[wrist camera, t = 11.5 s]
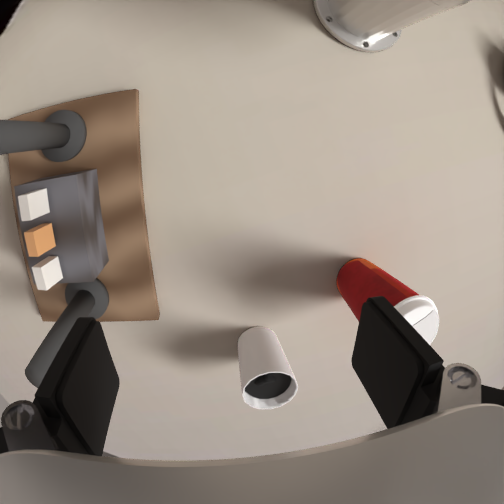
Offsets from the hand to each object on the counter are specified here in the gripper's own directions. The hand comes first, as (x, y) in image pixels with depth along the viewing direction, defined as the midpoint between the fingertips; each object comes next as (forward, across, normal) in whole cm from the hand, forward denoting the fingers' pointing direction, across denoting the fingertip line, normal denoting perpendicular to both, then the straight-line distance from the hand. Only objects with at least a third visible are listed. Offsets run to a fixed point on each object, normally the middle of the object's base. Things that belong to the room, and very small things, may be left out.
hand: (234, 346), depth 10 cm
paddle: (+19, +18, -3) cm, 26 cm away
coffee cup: (+27, -18, +12) cm, 35 cm away
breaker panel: (+27, +18, +1) cm, 32 cm away
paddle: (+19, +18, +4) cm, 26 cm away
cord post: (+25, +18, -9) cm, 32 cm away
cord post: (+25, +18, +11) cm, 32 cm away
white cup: (+27, -4, +21) cm, 34 cm away
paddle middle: (+19, +18, +1) cm, 26 cm away
